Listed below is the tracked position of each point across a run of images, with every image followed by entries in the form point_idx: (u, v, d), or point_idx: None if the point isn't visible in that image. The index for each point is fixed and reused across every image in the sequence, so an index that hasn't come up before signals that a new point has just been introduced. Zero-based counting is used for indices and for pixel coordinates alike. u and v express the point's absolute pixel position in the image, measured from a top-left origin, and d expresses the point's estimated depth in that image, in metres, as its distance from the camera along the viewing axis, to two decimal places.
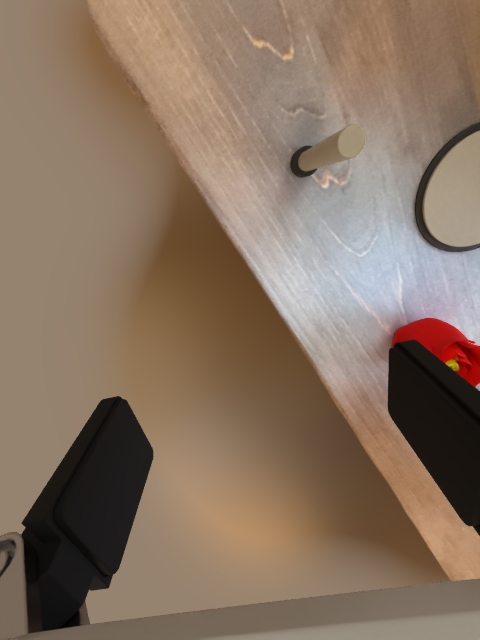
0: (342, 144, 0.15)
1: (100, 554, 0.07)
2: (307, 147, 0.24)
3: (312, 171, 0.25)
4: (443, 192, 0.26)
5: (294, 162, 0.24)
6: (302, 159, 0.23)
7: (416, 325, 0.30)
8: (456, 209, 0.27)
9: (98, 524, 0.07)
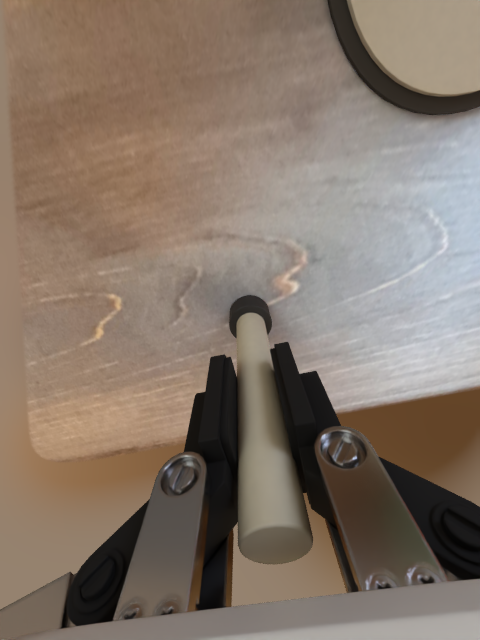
0: (272, 559, 0.06)
1: None
2: (232, 320, 0.15)
3: (268, 320, 0.15)
4: (435, 33, 0.11)
5: None
6: None
7: None
8: None
9: None
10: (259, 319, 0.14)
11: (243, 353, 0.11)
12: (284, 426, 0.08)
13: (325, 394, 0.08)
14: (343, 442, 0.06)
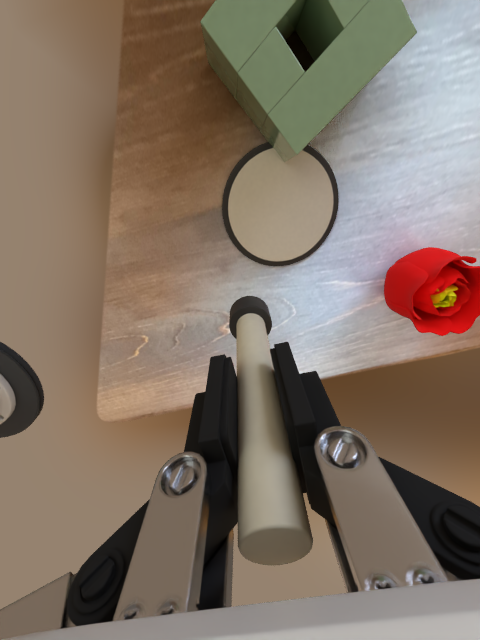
0: (272, 560, 0.06)
1: None
2: (232, 320, 0.15)
3: (268, 320, 0.15)
4: (268, 243, 0.29)
5: None
6: None
7: (385, 290, 0.29)
8: (288, 231, 0.28)
9: None
10: (259, 320, 0.14)
11: (243, 354, 0.11)
12: (284, 427, 0.08)
13: (325, 394, 0.08)
14: (343, 442, 0.06)
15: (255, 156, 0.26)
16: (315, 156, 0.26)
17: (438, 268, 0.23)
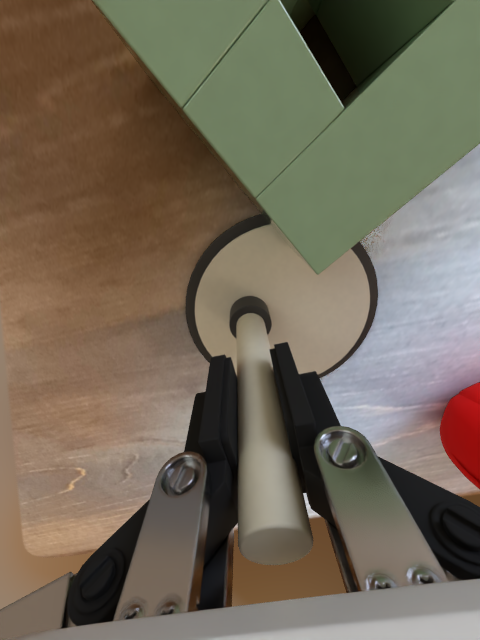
0: (272, 559, 0.06)
1: None
2: (232, 320, 0.15)
3: (268, 320, 0.15)
4: None
5: None
6: None
7: (447, 438, 0.18)
8: (293, 346, 0.17)
9: None
10: (259, 319, 0.14)
11: (243, 353, 0.11)
12: (284, 427, 0.08)
13: (325, 394, 0.08)
14: (342, 442, 0.06)
15: (238, 236, 0.15)
16: None
17: None
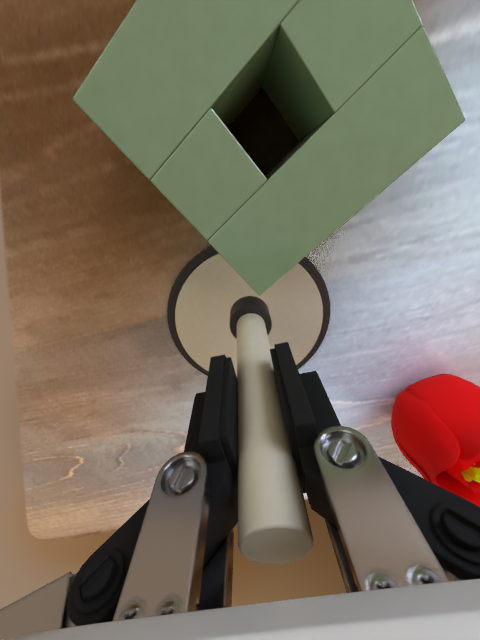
0: (272, 560, 0.06)
1: None
2: (232, 320, 0.15)
3: (268, 320, 0.15)
4: (233, 362, 0.21)
5: None
6: None
7: (394, 427, 0.21)
8: None
9: None
10: (260, 320, 0.14)
11: (243, 354, 0.11)
12: (284, 427, 0.08)
13: (325, 394, 0.08)
14: (343, 442, 0.06)
15: (209, 258, 0.18)
16: None
17: (476, 442, 0.16)
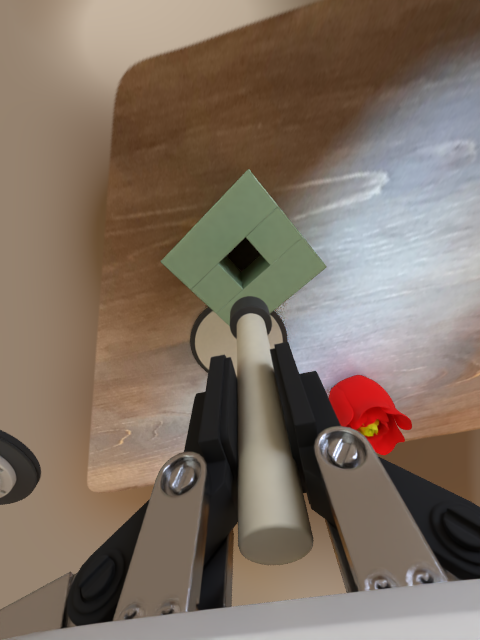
0: (272, 560, 0.06)
1: None
2: (232, 320, 0.15)
3: (268, 320, 0.15)
4: None
5: None
6: None
7: None
8: None
9: None
10: (260, 320, 0.14)
11: (243, 354, 0.11)
12: (285, 427, 0.08)
13: (325, 394, 0.08)
14: (343, 442, 0.06)
15: None
16: None
17: (360, 412, 0.29)
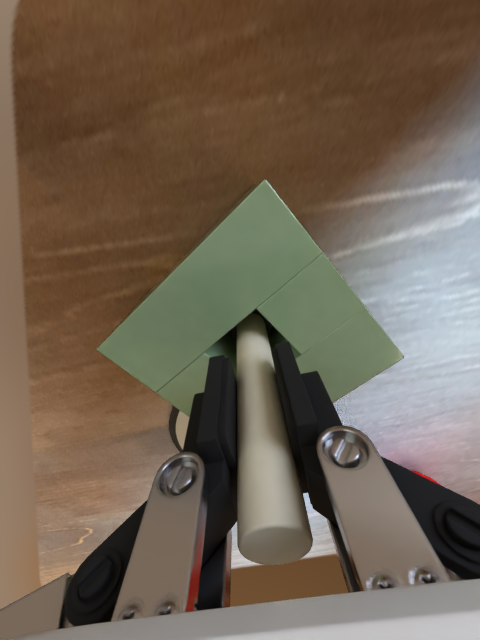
0: (271, 559, 0.06)
1: None
2: None
3: None
4: None
5: None
6: None
7: None
8: None
9: None
10: (259, 320, 0.14)
11: (243, 353, 0.11)
12: (284, 427, 0.08)
13: (326, 394, 0.08)
14: (345, 442, 0.06)
15: None
16: None
17: None
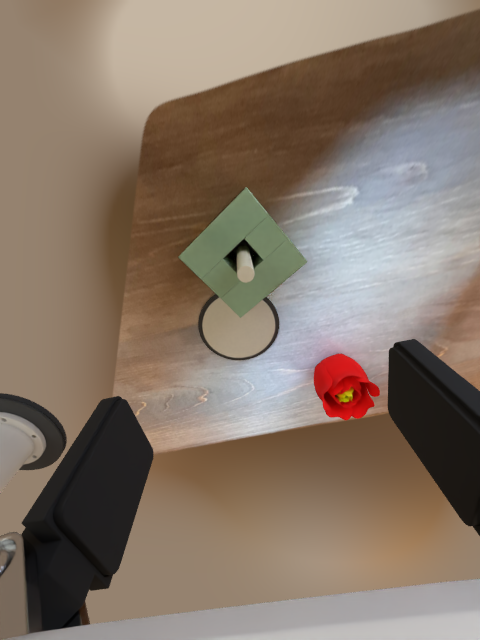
0: (245, 279, 0.24)
1: (100, 554, 0.07)
2: (234, 248, 0.33)
3: (250, 248, 0.33)
4: (231, 347, 0.41)
5: None
6: None
7: None
8: (245, 340, 0.40)
9: (98, 524, 0.07)
10: (246, 247, 0.33)
11: (239, 252, 0.30)
12: (250, 261, 0.26)
13: None
14: None
15: (219, 297, 0.38)
16: None
17: (337, 381, 0.36)
